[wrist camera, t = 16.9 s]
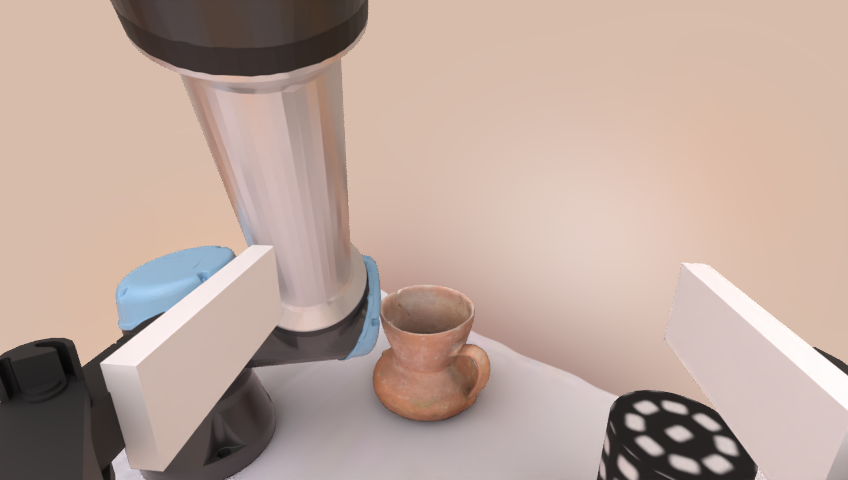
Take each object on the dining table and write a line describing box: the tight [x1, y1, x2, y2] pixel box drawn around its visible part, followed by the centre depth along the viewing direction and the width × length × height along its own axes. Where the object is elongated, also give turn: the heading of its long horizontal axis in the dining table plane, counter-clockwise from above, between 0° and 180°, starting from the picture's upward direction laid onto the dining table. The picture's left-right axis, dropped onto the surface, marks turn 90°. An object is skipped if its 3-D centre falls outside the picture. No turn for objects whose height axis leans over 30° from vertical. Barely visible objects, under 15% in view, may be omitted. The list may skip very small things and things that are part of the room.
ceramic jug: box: [373, 285, 490, 421], centre depth 59 cm, size 18×14×14 cm
